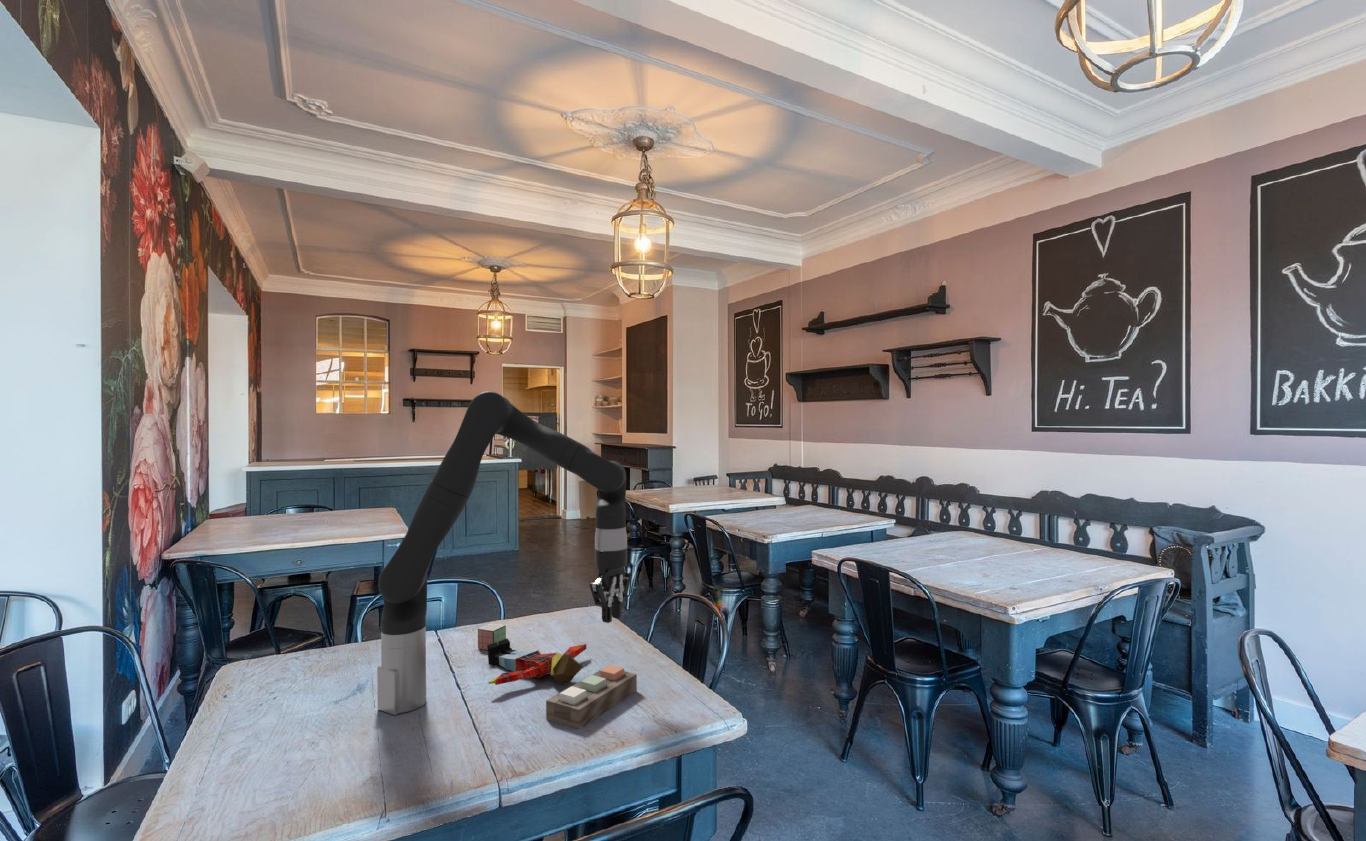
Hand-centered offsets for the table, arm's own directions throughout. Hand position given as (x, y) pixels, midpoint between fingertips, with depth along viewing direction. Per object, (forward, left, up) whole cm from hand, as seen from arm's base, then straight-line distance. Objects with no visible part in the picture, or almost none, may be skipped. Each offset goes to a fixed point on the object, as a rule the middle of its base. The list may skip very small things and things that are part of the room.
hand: (611, 619), depth 147 cm
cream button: (-14, 0, -15) cm, 20 cm away
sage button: (-7, 0, -15) cm, 16 cm away
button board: (-7, 0, -17) cm, 19 cm away
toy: (0, +25, -18) cm, 30 cm away
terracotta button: (0, 0, -15) cm, 15 cm away
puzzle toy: (+8, +49, -17) cm, 52 cm away
